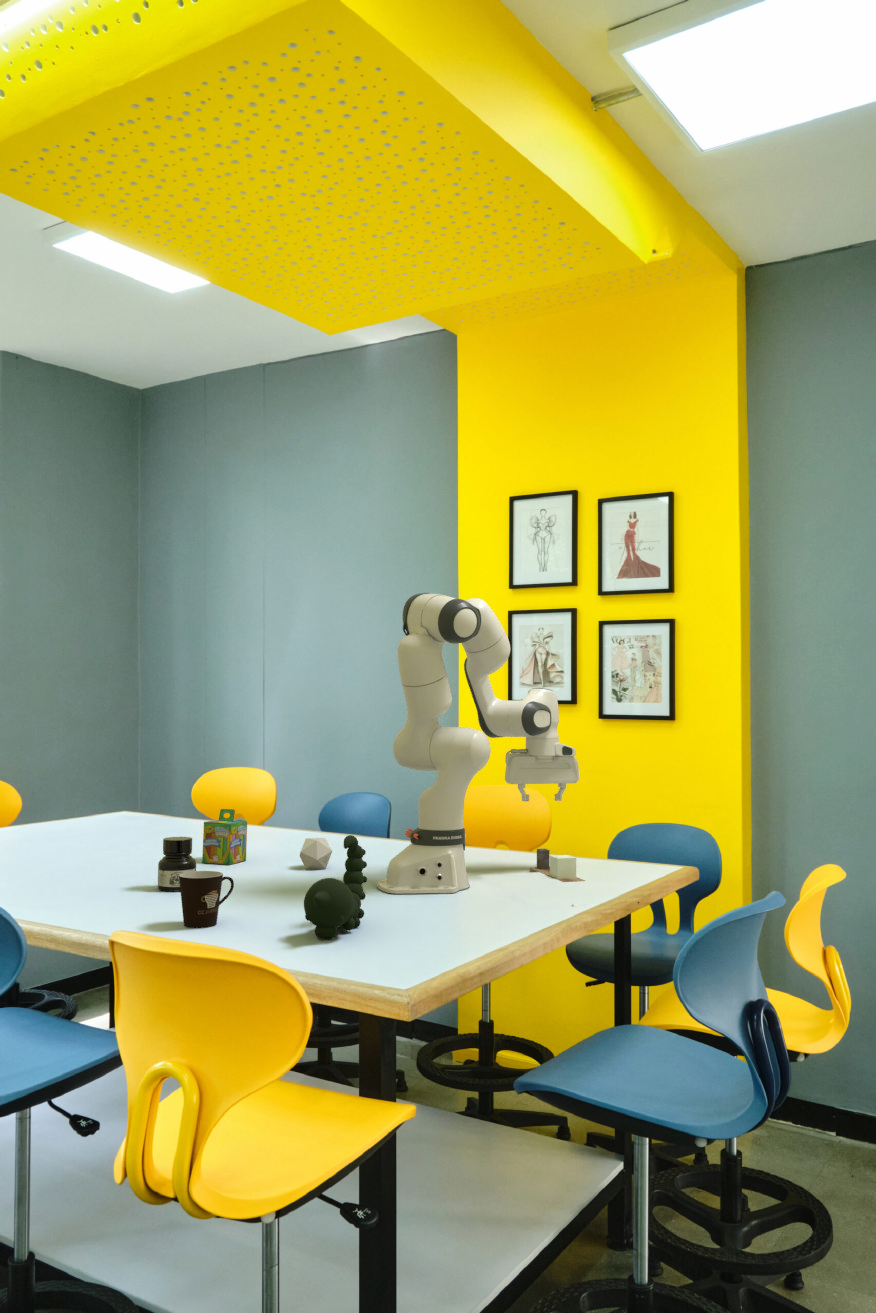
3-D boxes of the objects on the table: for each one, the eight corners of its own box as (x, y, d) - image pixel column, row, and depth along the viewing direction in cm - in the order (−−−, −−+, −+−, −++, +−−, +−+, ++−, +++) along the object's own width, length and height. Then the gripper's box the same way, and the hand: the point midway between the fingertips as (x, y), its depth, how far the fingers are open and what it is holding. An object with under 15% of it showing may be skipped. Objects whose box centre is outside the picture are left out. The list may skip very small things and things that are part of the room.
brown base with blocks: (563, 886, 238) (563, 861, 239) (529, 871, 259) (529, 848, 260) (585, 884, 240) (585, 860, 240) (550, 870, 261) (550, 847, 261)
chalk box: (201, 863, 271) (202, 810, 272) (219, 858, 280) (220, 807, 281) (230, 865, 268) (230, 811, 269) (247, 860, 277) (248, 808, 278)
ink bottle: (154, 892, 228) (155, 841, 229) (157, 886, 237) (158, 836, 238) (197, 891, 230) (197, 840, 231) (198, 884, 239) (199, 835, 240)
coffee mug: (181, 931, 190) (182, 879, 190) (175, 922, 197) (175, 872, 198) (241, 925, 194) (242, 875, 195) (232, 917, 202) (233, 868, 203)
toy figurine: (333, 925, 202) (288, 942, 178) (337, 833, 205) (293, 837, 181) (377, 928, 200) (337, 945, 176) (380, 835, 203) (341, 839, 179)
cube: (557, 878, 243) (557, 858, 243) (549, 875, 248) (549, 855, 248) (576, 877, 244) (576, 857, 245) (568, 874, 249) (567, 854, 249)
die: (321, 874, 258) (340, 842, 263) (292, 857, 259) (312, 825, 263) (319, 880, 266) (337, 849, 270) (291, 864, 266) (310, 833, 271)
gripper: (509, 749, 254) (509, 802, 253) (581, 749, 260) (581, 801, 259) (501, 748, 260) (501, 800, 259) (571, 748, 266) (571, 799, 265)
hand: (541, 800), depth 259 cm, fingers open, 8 cm apart
